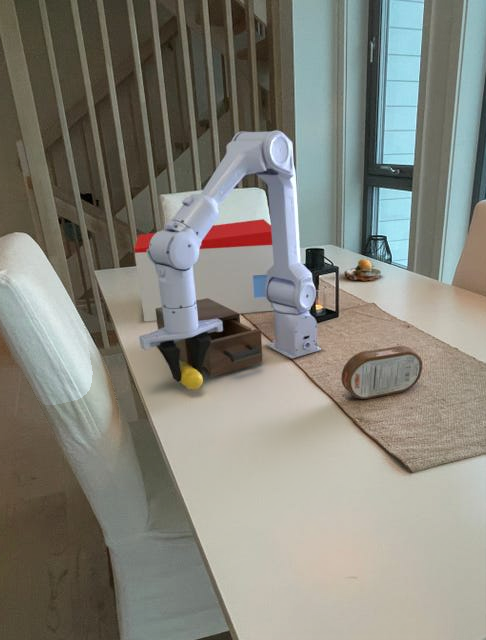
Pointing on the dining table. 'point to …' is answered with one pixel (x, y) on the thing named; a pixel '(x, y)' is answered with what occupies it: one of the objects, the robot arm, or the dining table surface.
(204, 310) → the cabinet
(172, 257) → the robot arm
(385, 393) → the tin
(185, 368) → the yellow oval capsule
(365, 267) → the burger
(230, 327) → the drawer
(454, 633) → the dining table surface
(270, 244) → the red-topped white box
